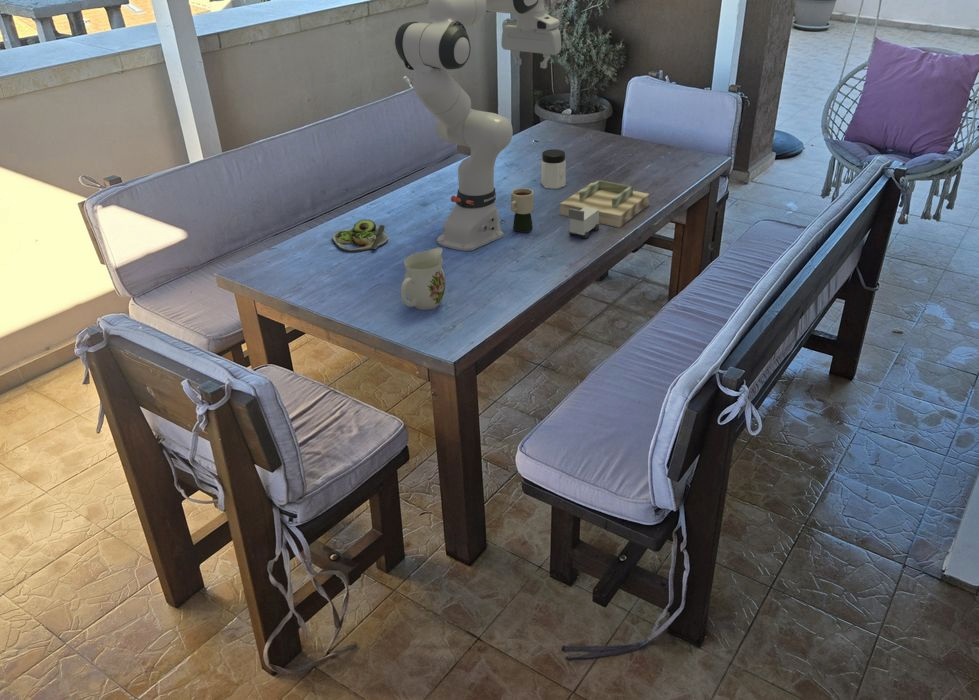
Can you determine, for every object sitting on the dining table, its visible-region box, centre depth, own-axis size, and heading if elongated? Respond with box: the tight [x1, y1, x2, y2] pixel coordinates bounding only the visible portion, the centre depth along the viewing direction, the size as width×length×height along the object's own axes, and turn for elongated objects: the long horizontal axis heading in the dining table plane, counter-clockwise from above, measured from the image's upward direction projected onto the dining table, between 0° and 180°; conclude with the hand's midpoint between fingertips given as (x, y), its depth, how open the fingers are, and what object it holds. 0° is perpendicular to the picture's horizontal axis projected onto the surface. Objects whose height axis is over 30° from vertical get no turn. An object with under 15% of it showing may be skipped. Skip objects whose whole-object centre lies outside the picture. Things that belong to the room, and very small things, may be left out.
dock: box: [559, 179, 650, 228], centre depth 283 cm, size 22×22×7 cm
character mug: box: [510, 187, 535, 233], centre depth 269 cm, size 11×7×13 cm, turn 139°
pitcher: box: [400, 247, 446, 311], centre depth 227 cm, size 11×18×14 cm, turn 147°
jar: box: [540, 148, 567, 190], centre depth 303 cm, size 9×8×12 cm
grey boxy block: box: [568, 207, 600, 239], centre depth 267 cm, size 11×6×10 cm, turn 146°
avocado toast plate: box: [331, 218, 389, 253], centre depth 268 cm, size 19×18×5 cm
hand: (530, 66), depth 269 cm, fingers open, 8 cm apart
